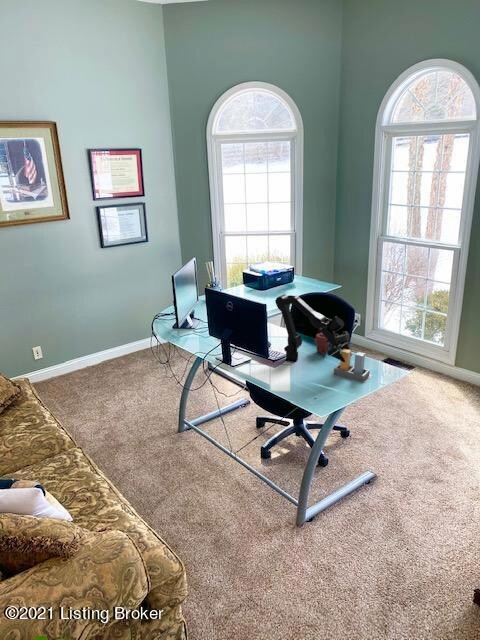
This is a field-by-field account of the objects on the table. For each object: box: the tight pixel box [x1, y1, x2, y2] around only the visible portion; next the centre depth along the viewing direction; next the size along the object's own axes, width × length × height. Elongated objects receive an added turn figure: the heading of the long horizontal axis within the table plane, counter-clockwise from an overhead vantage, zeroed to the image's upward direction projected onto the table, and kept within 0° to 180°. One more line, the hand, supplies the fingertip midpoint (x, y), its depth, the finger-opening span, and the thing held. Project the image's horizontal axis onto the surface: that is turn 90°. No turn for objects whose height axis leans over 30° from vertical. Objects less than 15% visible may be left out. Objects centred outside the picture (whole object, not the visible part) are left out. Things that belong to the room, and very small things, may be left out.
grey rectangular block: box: [353, 351, 366, 375], centre depth 254 cm, size 5×5×13 cm
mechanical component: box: [314, 333, 331, 356], centre depth 285 cm, size 12×10×10 cm
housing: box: [329, 362, 373, 384], centre depth 258 cm, size 20×12×4 cm, turn 56°
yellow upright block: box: [339, 349, 352, 371], centre depth 258 cm, size 5×5×13 cm
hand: (348, 358), depth 257 cm, fingers open, 9 cm apart
